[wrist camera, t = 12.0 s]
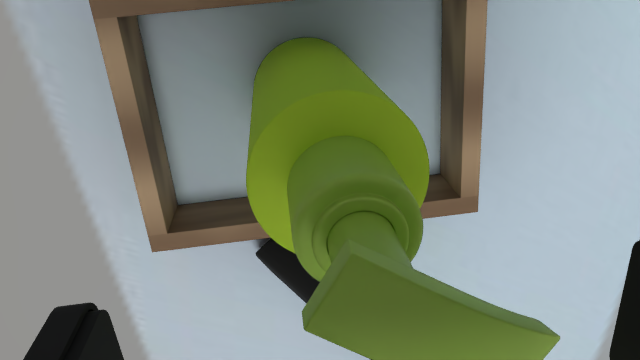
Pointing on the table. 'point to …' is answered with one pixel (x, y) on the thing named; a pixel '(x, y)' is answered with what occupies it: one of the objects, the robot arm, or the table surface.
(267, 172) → the soap dispenser
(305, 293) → the electric trimmer
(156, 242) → the frame
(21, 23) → the table surface
